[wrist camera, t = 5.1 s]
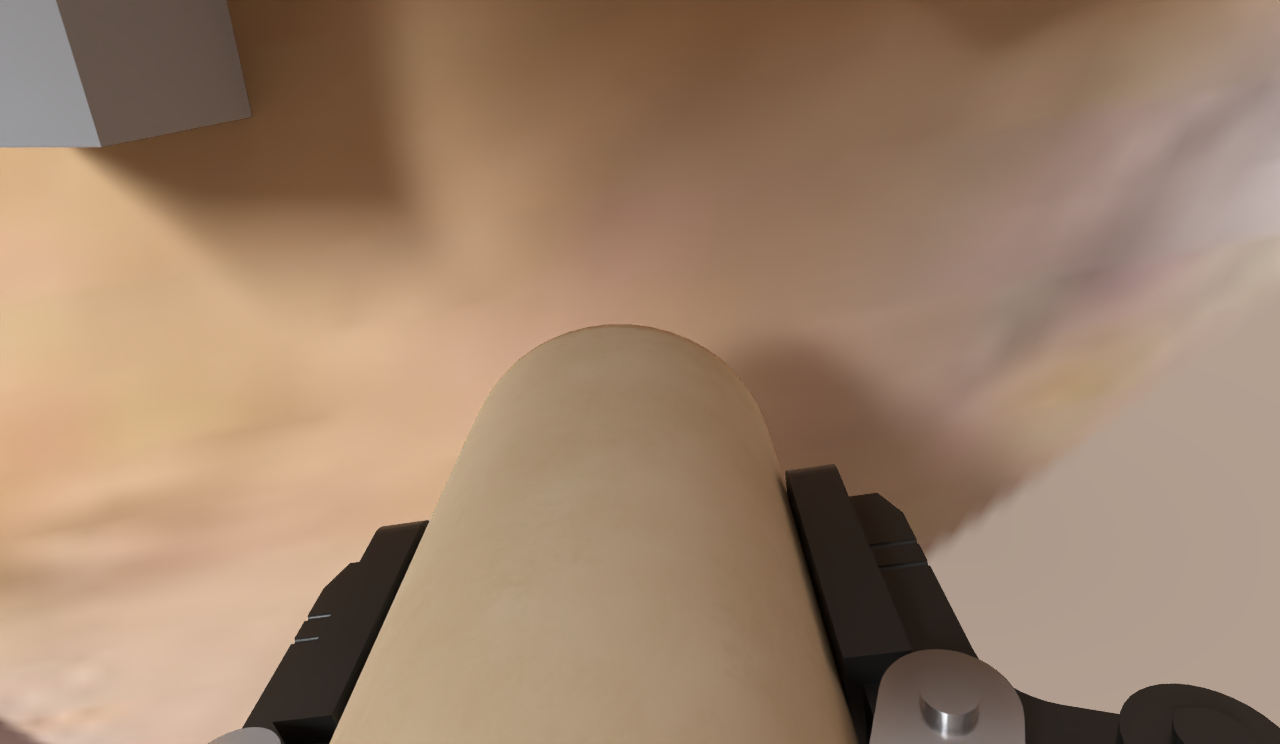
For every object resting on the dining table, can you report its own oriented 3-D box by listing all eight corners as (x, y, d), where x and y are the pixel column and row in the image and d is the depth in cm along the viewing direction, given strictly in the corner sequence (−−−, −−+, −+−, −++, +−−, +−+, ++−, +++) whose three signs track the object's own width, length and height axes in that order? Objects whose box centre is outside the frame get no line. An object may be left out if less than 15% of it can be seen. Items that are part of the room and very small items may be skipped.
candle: (516, 277, 12) (104, 1042, 3) (818, 374, 13) (1227, 1233, 4) (447, 528, 14) (99, 1385, 5) (707, 598, 15) (788, 1462, 6)
